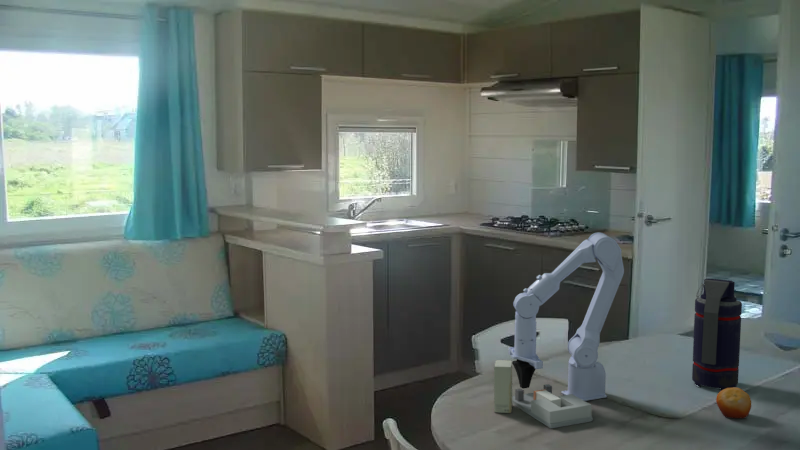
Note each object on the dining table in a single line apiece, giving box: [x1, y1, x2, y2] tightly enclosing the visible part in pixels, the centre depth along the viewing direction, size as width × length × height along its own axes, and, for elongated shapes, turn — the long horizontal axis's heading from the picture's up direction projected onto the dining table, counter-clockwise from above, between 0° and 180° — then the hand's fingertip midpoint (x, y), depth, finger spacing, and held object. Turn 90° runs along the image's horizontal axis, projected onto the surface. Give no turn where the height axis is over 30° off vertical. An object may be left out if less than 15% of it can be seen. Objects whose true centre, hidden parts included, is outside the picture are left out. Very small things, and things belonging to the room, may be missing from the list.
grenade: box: [691, 278, 743, 391], centre depth 216 cm, size 14×12×30 cm
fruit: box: [715, 386, 752, 419], centre depth 196 cm, size 8×8×8 cm
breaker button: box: [533, 388, 561, 407], centre depth 201 cm, size 3×8×3 cm, turn 22°
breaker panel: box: [512, 383, 593, 429], centre depth 201 cm, size 12×21×4 cm, turn 22°
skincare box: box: [493, 359, 513, 414], centre depth 201 cm, size 6×4×12 cm
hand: (524, 387), depth 211 cm, fingers closed
